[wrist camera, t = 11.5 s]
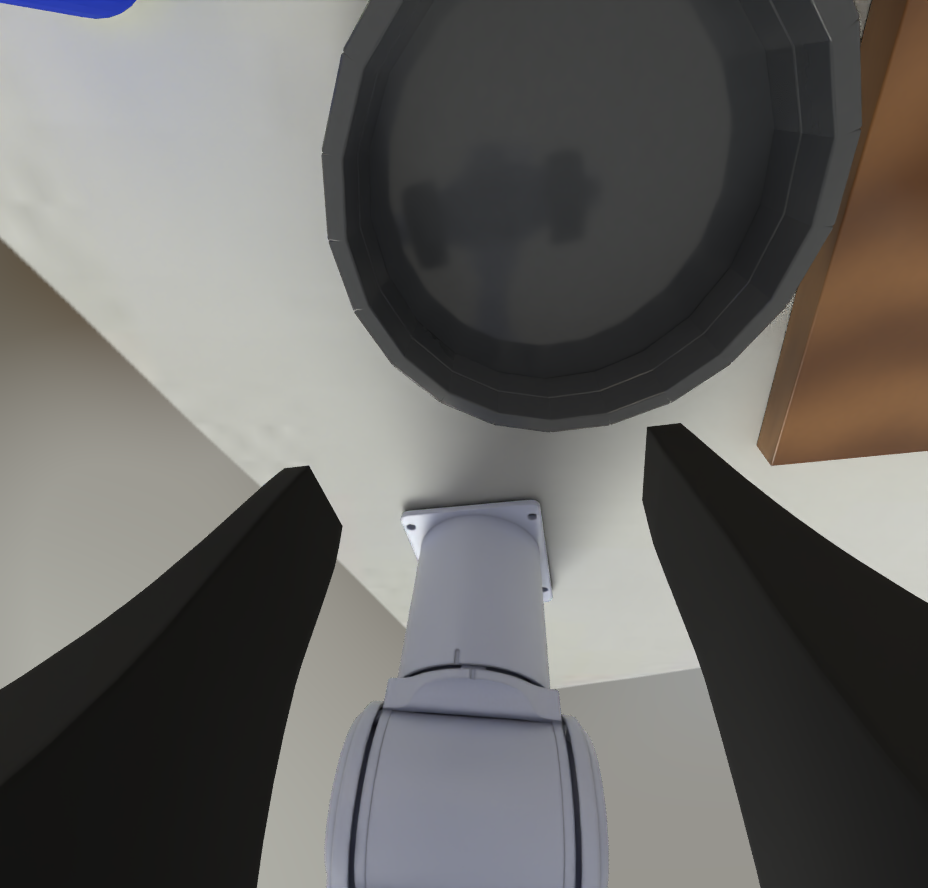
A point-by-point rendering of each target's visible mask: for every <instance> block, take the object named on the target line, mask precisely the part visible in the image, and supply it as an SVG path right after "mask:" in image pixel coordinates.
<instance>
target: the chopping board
mask: <svg viewBox="0 0 928 888" xmlns="http://www.w3.org/2000/svg"><path fill="white" fill-rule="evenodd" d="M860 50H861V93H862V127H861V128H860V129H861V134H860V138H859V141H858V145H857V148H856V152H855V155H854V159H853V162H852V166H851V169H850V173H849V176H848V180H847V183H846V187H845V190H844V194H843V197H842V201H841V204H840V208H839V211H838V215H837V218H836V222H835V224H834V225H833V229H832V231H831V232H830V234H829V236H828V237H827V239H826V241H825V243H824V244H823V246H822V248H821V249H820V251H819V253H818V254H817V256H816V258H815V259H814V261H813V263H812V265H811V266H810V268H809V270H808V271H807V273H806V275H805V276H804V278H803V280H802V281H801V283H800V285H799V287H798V288H797V292H796V296H795V300H794V304H793V307H792V311H791V315H790V319H789V323H788V327H787V331H786V334H785V338H784V342H783V346H782V350H781V354H780V358H779V361H778V365H777V369H776V373H775V377H774V381H773V385H772V388H771V392H770V396H769V400H768V404H767V408H766V412H765V415H764V419H763V423H762V427H761V431H760V435H759V439H758V443H757V447H758V448H759V450H760V451H761V452H762V454H763V455H764V457H765V458H766V459H767V461H768V462H769V464H770V465H771V466H774V465H785V464H795V463H806V462H816V461H826V460H837V459H847V458H858V457H868V456H879V455H889V454H900V453H910V452H921V451H928V0H872V3H871V6H870V10H869V14H868V18H867V22H866V26H865V30H864V33H863V37H862V41H861V45H860Z"/></svg>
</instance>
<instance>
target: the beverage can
mask: <svg viewBox="0 0 928 888" xmlns="http://www.w3.org/2000/svg"><path fill="white" fill-rule="evenodd" d="M135 1H136V0H0V3H5V4H11V5H17V6H22V7H28V8H34V9H40V10H45V11H51V12H57V13H63V14H68V15H74V16H80V17H87V18H94V19H99V18H110V17H112V16H115V15H118V14H120V13H122V12H124V11H125V10H126V9H128V8H129V7H131V6H132V5H133V3H134V2H135Z"/></svg>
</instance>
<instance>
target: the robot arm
mask: <svg viewBox="0 0 928 888" xmlns="http://www.w3.org/2000/svg"><path fill="white" fill-rule="evenodd" d="M642 501H643V505H644V509H645V513H646V517H647V521H648V525H649V529H650V533H651V537H652V541H653V544H654V547H655V550H656V553H657V555H658V558H659V560H660V563H661V566H662V568H663V571H664V573H665V576H666V578H667V581H668V584H669V586H670V589H671V591H672V594H673V596H674V599H675V601H676V604H677V607H678V609H679V612H680V614H681V617H682V619H683V622H684V624H685V627H686V629H687V632H688V635H689V637H690V640H691V642H692V645H693V647H694V650H695V652H696V655H697V658H698V661H699V664H700V667H701V670H702V673H703V675H704V678H705V682H706V685H707V689H708V692H709V696H710V699H711V702H712V706H713V710H714V713H715V717H716V720H717V723H718V727H719V731H720V734H721V738H722V741H723V745H724V749H725V752H726V756H727V760H728V763H729V767H730V771H731V774H732V778H733V781H734V785H735V789H736V793H737V796H738V800H739V804H740V808H741V812H742V816H743V819H744V823H745V827H746V831H747V835H748V839H749V843H750V847H751V851H752V855H753V859H754V862H755V866H756V870H757V874H758V879H759V883H760V887H761V888H928V603H927V602H925V601H924V600H922V599H920V598H918V597H917V596H915V595H913V594H912V593H910V592H908V591H907V590H905V589H904V588H902V587H900V586H899V585H897V584H895V583H894V582H892V581H891V580H889V579H887V578H886V577H884V576H883V575H881V574H879V573H878V572H876V571H875V570H873V569H871V568H870V567H868V566H867V565H865V564H863V563H862V562H860V561H859V560H857V559H855V558H854V557H852V556H851V555H849V554H848V553H846V552H845V551H843V550H842V549H840V548H839V547H837V546H836V545H834V544H833V543H831V542H830V541H829V540H827V539H826V538H824V537H823V536H821V535H820V534H819V533H817V532H816V531H814V530H813V529H812V528H810V527H809V526H807V525H806V524H805V523H803V522H802V521H800V520H799V519H798V518H796V517H795V516H794V515H792V514H791V513H790V512H788V511H787V510H786V509H784V508H783V507H782V506H780V505H779V504H778V503H776V502H775V501H774V500H772V499H771V498H770V497H769V496H767V495H766V494H765V493H764V492H762V491H761V490H760V489H759V488H757V487H756V486H755V485H753V484H752V483H751V482H750V481H748V480H747V479H746V478H745V477H743V476H742V475H741V474H740V473H739V472H737V471H736V470H735V469H734V468H733V467H731V466H730V465H729V464H728V463H727V462H725V461H724V460H723V459H722V458H721V457H720V456H718V455H717V454H716V453H715V452H714V451H713V450H711V449H710V448H709V447H708V446H707V445H706V444H704V443H703V442H702V441H701V440H700V439H699V438H697V437H696V436H695V435H694V434H693V433H692V432H691V431H689V430H688V429H687V428H686V427H685V426H683V425H682V424H681V423H678V424H669V425H660V426H652V427H647V436H646V451H645V466H644V482H643V497H642ZM530 514H533V515H530ZM401 523H402V525H403V527H404V530H405V532H406V534H407V537H408V539H409V541H410V544H411V546H412V549H413V551H414V553H415V556H416V558H417V560H418V567H417V572H416V578H415V583H414V589H413V595H412V600H411V606H410V611H409V617H408V623H407V628H406V634H405V639H404V645H403V650H402V656H401V662H400V667H399V673H398V678H390V679H389V680H388V684H387V689H386V694H385V699H384V701H372V702H370V703H369V704H368V705H367V706H366V708H365V709H364V711H363V712H362V713H360V714H359V715H358V716H357V717H356V719H355V720H354V721H353V723H352V725H351V727H350V729H349V731H348V734H347V736H346V739H345V742H344V745H343V748H342V751H341V755H340V758H339V762H338V766H337V770H336V774H335V778H334V783H333V788H332V793H331V799H330V804H329V810H328V817H327V826H326V837H325V867H326V873H327V887H326V888H607V887H608V874H609V848H608V829H607V816H606V807H605V799H604V792H603V785H602V779H601V773H600V769H599V763H598V759H597V755H596V752H595V748H594V745H593V743H592V740H591V738H590V736H589V735H588V733H587V732H586V731H585V730H584V729H583V728H582V726H581V725H580V723H579V722H578V720H577V719H576V717H574V716H572V715H564V714H563V715H562V714H561V708H560V697H559V691H558V690H556V689H550V679H549V666H548V654H547V641H546V628H545V616H544V603H543V602H549V601H551V600H552V598H553V595H552V587H551V580H550V573H549V565H548V558H547V551H546V544H545V536H544V529H543V522H542V514H541V507H540V504H539V502H538V501H536V500H521V501H510V502H499V503H488V504H477V505H466V506H455V507H444V508H433V509H422V510H411V511H405V512H403V513H402V515H401ZM411 524H413V525H411ZM341 532H342V524H341V522H340V521H339V519H338V517H337V515H336V513H335V512H334V510H333V508H332V506H331V504H330V503H329V501H328V499H327V497H326V495H325V494H324V492H323V490H322V488H321V486H320V485H319V483H318V481H317V479H316V478H315V476H314V474H313V472H312V470H311V469H310V467H309V466H301V467H293V468H284V469H283V470H282V471H280V472H279V473H278V474H277V475H275V476H274V477H273V478H272V479H270V480H269V481H268V482H267V483H266V484H265V485H264V486H262V487H261V488H260V489H259V490H258V491H257V492H256V493H255V494H254V495H252V496H251V497H250V498H249V499H248V500H247V501H246V502H245V503H243V504H242V505H241V506H240V507H239V508H238V509H237V510H236V511H235V512H234V513H233V514H231V515H230V516H229V517H228V518H227V519H226V520H225V521H224V522H222V523H221V524H220V525H219V526H218V527H217V528H216V529H215V530H214V531H213V532H211V533H210V534H209V535H208V536H207V537H206V538H205V539H204V540H203V541H201V542H200V543H199V544H198V545H197V546H195V547H194V548H193V549H192V550H191V551H190V552H188V553H187V554H186V555H185V556H184V557H183V558H181V559H180V560H179V561H178V562H177V563H175V564H174V565H173V566H172V567H171V568H170V569H168V570H167V571H166V572H165V573H164V574H162V575H161V576H160V577H159V578H158V579H157V580H155V581H154V582H153V583H152V584H150V585H149V586H148V587H147V588H145V589H144V590H143V591H142V592H140V593H139V594H138V595H136V596H135V597H134V598H133V599H131V600H130V601H129V602H127V603H126V604H125V605H124V606H122V607H121V608H119V609H118V610H117V611H115V612H114V613H113V614H111V615H110V616H109V617H107V618H106V619H105V620H103V621H102V622H101V623H99V624H98V625H96V626H95V627H94V628H92V629H91V630H89V631H88V632H87V633H85V634H84V635H82V636H81V637H79V638H78V639H76V640H75V641H73V642H72V643H70V644H69V645H68V646H66V647H64V648H63V649H62V650H60V651H58V652H57V653H56V654H54V655H53V656H51V657H50V658H48V659H47V660H45V661H44V662H42V663H41V664H39V665H38V666H36V667H35V668H33V669H32V670H30V671H29V672H27V673H26V674H24V675H23V676H21V677H20V678H18V679H17V680H15V681H13V682H12V683H10V684H9V685H7V686H5V687H4V688H2V689H0V888H257V882H258V874H259V868H260V860H261V853H262V846H263V840H264V835H265V828H266V823H267V817H268V811H269V806H270V800H271V794H272V789H273V783H274V778H275V774H276V769H277V764H278V759H279V754H280V750H281V745H282V740H283V735H284V731H285V726H286V722H287V718H288V714H289V710H290V706H291V701H292V697H293V693H294V689H295V685H296V681H297V678H298V675H299V671H300V668H301V665H302V662H303V659H304V656H305V653H306V650H307V647H308V644H309V641H310V638H311V636H312V633H313V630H314V627H315V624H316V621H317V618H318V615H319V613H320V609H321V607H322V604H323V601H324V598H325V595H326V592H327V589H328V586H329V583H330V580H331V577H332V574H333V570H334V567H335V563H336V558H337V554H338V549H339V543H340V538H341Z"/></svg>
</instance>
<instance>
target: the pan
mask: <svg viewBox="0 0 928 888" xmlns="http://www.w3.org/2000/svg"><path fill="white" fill-rule="evenodd" d="M858 18H859V13H858V11H857V9H856V6H855V4H854V2H853V0H369V2H368V4H367V6H366V8H365V10H364V11H363V13H362V15H361V17H360V19H359V21H358V22H357V24H356V26H355V28H354V30H353V32H352V34H351V35H350V37H349V39H348V41H347V43H346V45H345V46H344V49H343V51H344V52H343V53H342V54H341V59H340V64H339V69H338V73H337V78H336V83H335V88H334V93H333V98H332V103H331V107H330V112H329V117H328V122H327V127H326V132H325V137H324V141H323V146H322V152H323V153H322V168H323V182H324V195H325V208H326V221H327V234H328V240H329V245H330V247H331V250H332V253H333V256H334V258H335V261H336V264H337V266H338V269H339V272H340V275H341V277H342V280H343V283H344V286H345V288H346V291H347V294H348V297H349V299H350V302H351V305H352V308H353V310H354V311H355V314H356V316H357V317H358V318H359V320H360V321H361V322H362V324H363V325H364V327H365V328H366V329H367V331H368V332H369V333H370V335H371V336H372V338H373V339H374V340H375V342H376V343H377V344H378V346H379V347H380V349H381V350H382V351H383V353H384V354H385V356H386V357H387V358H388V360H389V361H390V362H391V364H392V365H394V367H396V368H397V369H398V370H399V371H401V372H402V373H403V374H404V375H406V376H407V377H408V378H410V379H411V380H412V381H413V382H415V383H416V384H417V385H418V386H420V387H421V388H422V389H424V390H425V391H426V392H427V393H429V394H430V395H431V396H432V397H434V398H435V399H436V400H438V401H439V402H441V403H443V404H445V405H447V406H450V407H452V408H455V409H457V410H459V411H462V412H464V413H467V414H469V415H471V416H474V417H476V418H479V419H481V420H483V421H486V422H488V423H491V424H494V425H498V426H506V427H513V428H521V429H528V430H536V431H543V432H550V431H551V432H557V431H565V430H574V429H582V428H591V427H599V426H608V425H609V424H610V425H612V424H615V423H617V422H620V421H623V420H626V419H628V418H631V417H634V416H636V415H639V414H642V413H645V412H647V411H650V410H653V409H655V408H658V407H661V406H664V405H666V404H669V403H670V402H673V401H675V400H677V399H678V398H680V397H681V396H683V395H684V394H686V393H687V392H689V391H690V390H692V389H693V388H695V387H696V386H698V385H699V384H701V383H703V382H704V381H706V380H707V379H709V378H710V377H712V376H713V375H715V374H716V373H718V372H719V371H721V370H722V369H724V368H725V367H727V366H729V365H730V364H731V362H733V361H734V360H735V359H736V358H737V357H738V356H739V355H740V354H741V353H742V352H743V351H744V350H745V349H746V348H747V347H748V346H749V344H750V343H751V342H752V341H753V340H754V339H755V338H756V337H757V336H758V335H759V334H760V333H761V332H762V331H763V330H764V329H765V328H766V327H767V326H768V325H769V324H770V323H771V322H772V321H773V320H774V319H775V317H776V316H777V315H778V314H779V313H780V312H781V311H782V310H783V309H784V308H785V307H786V304H788V303H789V302H790V300H791V298H792V297H793V295H794V293H795V292H796V290H797V288H798V287H799V285H800V283H801V281H802V280H803V278H804V276H805V275H806V273H807V271H808V270H809V268H810V266H811V265H812V263H813V261H814V259H815V258H816V256H817V254H818V253H819V251H820V249H821V248H822V246H823V244H824V243H825V241H826V239H827V237H828V236H829V234H830V232H831V231H832V229H833V225H834V224H835V222H836V218H837V215H838V211H839V208H840V204H841V201H842V197H843V194H844V190H845V187H846V183H847V180H848V176H849V173H850V169H851V166H852V162H853V159H854V155H855V152H856V148H857V145H858V141H859V138H860V134H861V129H860V128H861V127H862V93H861V50H860V21H859V19H858Z"/></svg>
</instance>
